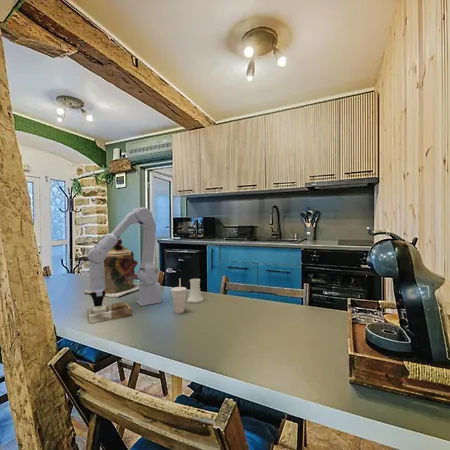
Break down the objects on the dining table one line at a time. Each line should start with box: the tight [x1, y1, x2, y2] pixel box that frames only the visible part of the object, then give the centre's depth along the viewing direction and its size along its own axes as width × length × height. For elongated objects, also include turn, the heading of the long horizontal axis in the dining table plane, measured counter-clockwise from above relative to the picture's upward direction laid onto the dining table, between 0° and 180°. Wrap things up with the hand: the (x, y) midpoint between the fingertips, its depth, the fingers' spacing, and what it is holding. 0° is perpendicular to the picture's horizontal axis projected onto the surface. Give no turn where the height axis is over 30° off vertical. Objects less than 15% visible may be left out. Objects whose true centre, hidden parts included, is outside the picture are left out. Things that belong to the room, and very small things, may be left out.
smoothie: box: [170, 278, 188, 314], centre depth 114 cm, size 6×6×14 cm
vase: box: [186, 278, 204, 304], centre depth 129 cm, size 8×8×10 cm
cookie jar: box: [84, 236, 139, 299], centre depth 150 cm, size 25×25×32 cm
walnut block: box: [111, 301, 126, 311], centre depth 113 cm, size 4×4×4 cm
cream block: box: [92, 304, 107, 315], centre depth 109 cm, size 4×4×4 cm
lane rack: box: [86, 302, 133, 325], centre depth 111 cm, size 15×10×3 cm, turn 120°
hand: (98, 309), depth 114 cm, fingers closed
